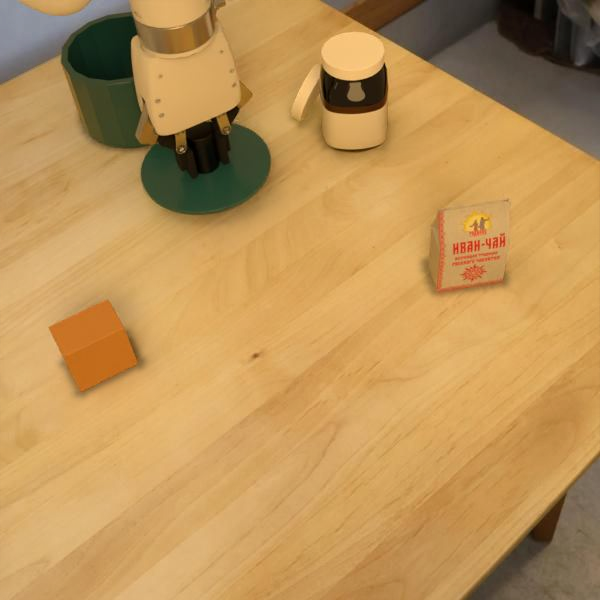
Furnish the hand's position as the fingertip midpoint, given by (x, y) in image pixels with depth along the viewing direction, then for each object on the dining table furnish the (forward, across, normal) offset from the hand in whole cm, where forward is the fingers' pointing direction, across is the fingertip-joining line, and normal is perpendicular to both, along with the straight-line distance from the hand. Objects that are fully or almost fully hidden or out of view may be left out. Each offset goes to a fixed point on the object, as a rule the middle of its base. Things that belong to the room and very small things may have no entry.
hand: (205, 162), depth 96 cm
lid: (+1, 0, 0) cm, 1 cm away
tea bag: (+3, -16, +27) cm, 32 cm away
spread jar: (+3, -17, +1) cm, 17 cm away
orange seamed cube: (+3, +20, +17) cm, 26 cm away
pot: (+3, +2, -16) cm, 16 cm away
